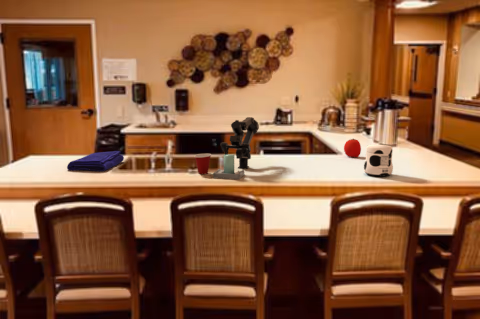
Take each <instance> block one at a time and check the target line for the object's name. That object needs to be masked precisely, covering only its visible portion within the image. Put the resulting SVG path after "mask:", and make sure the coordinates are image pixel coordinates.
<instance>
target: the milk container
mask: <svg viewBox="0 0 480 319" xmlns="http://www.w3.org/2000/svg"><path fill="white" fill-rule="evenodd" d="M365 151H366V152H365V161H364V164H363V170H364V173H365V174H366V175H368V176H374V177H387V176H390V175H392V174H393V170H394V165H393V146H391V145H387V144H386V145H385V144H368V145H367V146H366V150H365Z"/></svg>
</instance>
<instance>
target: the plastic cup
mask: <svg viewBox="0 0 480 319" xmlns="http://www.w3.org/2000/svg"><path fill="white" fill-rule="evenodd" d="M211 156H212V154H211V153H198V154H195V155H194V156H193V157H194V159H195V163H196V168H197V172H198V174H199V175H207V174H208V173H209V168H210V163H211V162H210V161H211Z"/></svg>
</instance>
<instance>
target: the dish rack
mask: <svg viewBox="0 0 480 319" xmlns="http://www.w3.org/2000/svg"><path fill="white" fill-rule="evenodd" d="M212 174H213V176H212V179H221V178H222V179H226V180H241V178H242V177H243V176H244V175H245V170H244V169H242V170H238V171H236V172H234V174H227V173H224V169H222V168H218V169H217V170H215V171H214V172H213V173H212Z"/></svg>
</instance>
